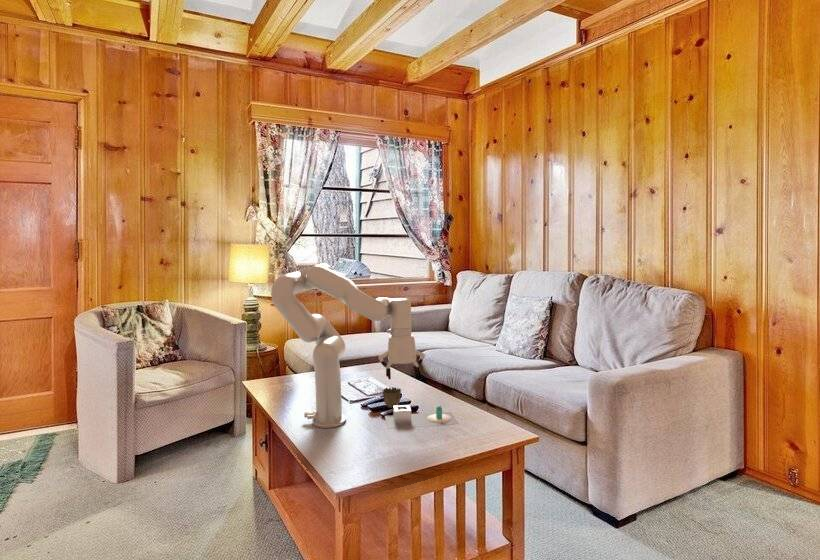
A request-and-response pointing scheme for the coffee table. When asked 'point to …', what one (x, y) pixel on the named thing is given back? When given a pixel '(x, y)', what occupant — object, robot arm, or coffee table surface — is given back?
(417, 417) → the tool board
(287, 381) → the coffee table surface
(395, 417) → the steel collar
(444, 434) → the coffee table surface
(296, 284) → the robot arm
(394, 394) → the cup
